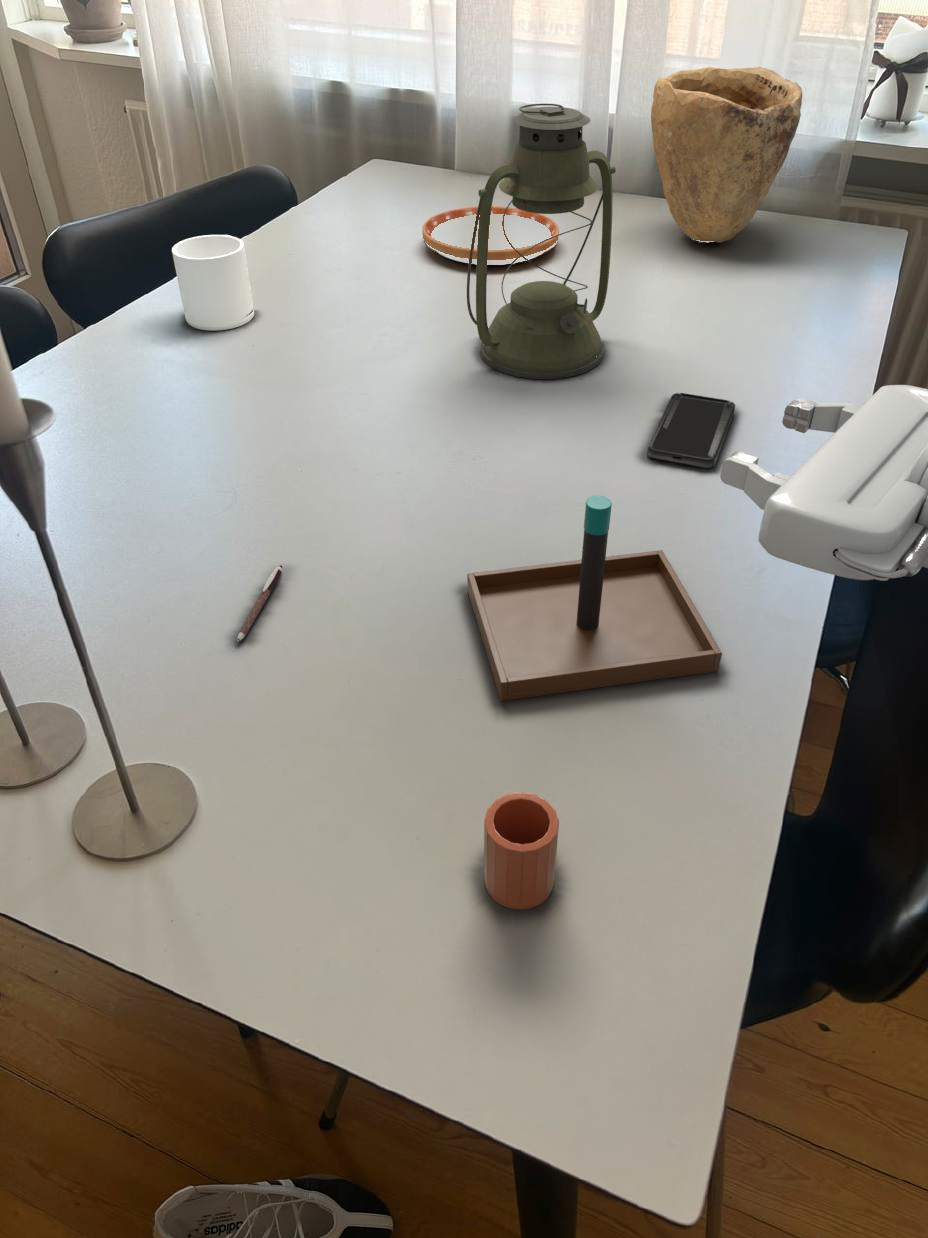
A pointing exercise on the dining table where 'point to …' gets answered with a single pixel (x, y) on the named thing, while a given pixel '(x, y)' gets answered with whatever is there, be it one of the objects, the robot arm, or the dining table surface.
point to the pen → (260, 602)
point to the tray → (583, 659)
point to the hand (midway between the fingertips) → (758, 437)
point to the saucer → (492, 254)
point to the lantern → (546, 184)
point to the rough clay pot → (721, 144)
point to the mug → (213, 281)
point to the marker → (593, 561)
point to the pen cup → (520, 850)
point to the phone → (691, 430)
